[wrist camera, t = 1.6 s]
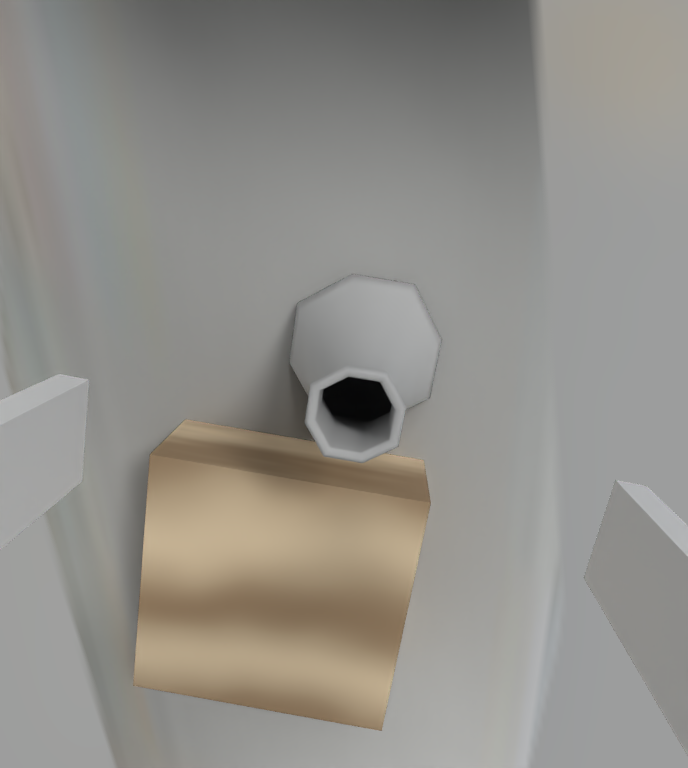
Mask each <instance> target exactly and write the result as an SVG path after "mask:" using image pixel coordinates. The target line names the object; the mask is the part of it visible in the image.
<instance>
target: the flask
mask: <svg viewBox="0 0 688 768" xmlns="http://www.w3.org/2000/svg"><path fill="white" fill-rule="evenodd" d="M441 342H442V339H441V337H440V335H439V333H438V331H437V329H436V327H435V325H434V323H433V321H432V319H431V317H430V315H429V313H428V310H427V308H426V306H425V304H424V302H423V300H422V298H421V296H420V294H419V292H418V290H417V288H416V286H415V284H410V283H404V282H398V281H392V280H386V279H380V278H374V277H368V276H362V275H356V274H351V275H349V276H347V277H345V278H343V279H342V280H340V281H338V282H336V283H334V284H332V285H330V286H328V287H326V288H325V289H323V290H321V291H319V292H317V293H315V294H313V295H311V296H309V297H308V298H306V299H304V300H302V301H300V302H298V303H297V309H296V317H295V324H294V331H293V338H292V346H291V353H290V360H289V363H290V365H291V366H292V368H293V370H294V372H295V374H296V375H297V377H298V379H299V381H300V383H301V384H302V386H303V388H304V390H305V392H306V393H307V395H308V404H307V410H306V417H305V424H306V426H307V428H308V430H309V432H310V433H311V435H312V437H313V439H314V440H315V442H316V444H317V446H318V447H319V449H320V451H321V453H322V455H323V456H324V457H329V458H335V459H341V460H347V461H352V462H358V463H364V462H366V461H369V460H371V459H373V458H375V457H377V456H379V455H382V454H384V453H386V452H388V451H390V450H392V449H395V448H397V447H398V446H399V441H400V436H401V431H402V425H403V420H404V415H405V410H406V409H408V408H410V407H412V406H414V405H416V404H419V403H421V402H423V401H425V400H427V399H429V398H430V395H431V390H432V385H433V380H434V375H435V371H436V366H437V361H438V356H439V351H440V347H441Z"/></svg>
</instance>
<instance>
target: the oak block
mask: <svg viewBox="0 0 688 768" xmlns="http://www.w3.org/2000/svg"><path fill="white" fill-rule="evenodd" d="M430 504H431V502H430V496H429V490H428V484H427V477H426V471H425V465H424V460H421V459H415V458H409V457H403V456H397V455H391V454H385V453H384V454H382V455H379V456H377V457H375V458H373V459H371V460H369V461H366V462H364V463H358V462H352V461H347V460H341V459H335V458H329V457H324V456H323V455H322V453H321V451H320V449H319V447H318V446H317V444H316V442H315V441H309V440H303V439H298V438H292V437H286V436H280V435H274V434H268V433H262V432H257V431H251V430H245V429H239V428H233V427H227V426H221V425H216V424H210V423H204V422H198V421H192V420H186V419H185V420H184V421H183V422H182V423H181V424H180V425H179V426H178V427H177V428H176V429H175V430H174V431H173V432H172V433H171V434H170V435H169V436H168V437H167V438H166V439H165V440H164V441H163V442H162V443H161V444H160V445H159V446H158V447H157V448H156V449H155V450H154V451H153V452H152V453H151V454H150V460H149V474H148V487H147V501H146V515H145V529H144V543H143V557H142V571H141V584H140V598H139V612H138V626H137V640H136V654H135V667H134V681H133V686H138V687H144V688H149V689H155V690H160V691H166V692H171V693H177V694H182V695H188V696H193V697H199V698H204V699H210V700H215V701H221V702H226V703H232V704H237V705H243V706H248V707H253V708H259V709H264V710H270V711H275V712H281V713H286V714H292V715H297V716H303V717H308V718H314V719H319V720H325V721H330V722H336V723H341V724H347V725H352V726H358V727H363V728H369V729H374V730H380V731H382V726H383V722H384V717H385V712H386V708H387V703H388V698H389V694H390V689H391V685H392V680H393V675H394V671H395V666H396V661H397V657H398V652H399V647H400V643H401V638H402V634H403V629H404V624H405V620H406V615H407V610H408V606H409V601H410V596H411V592H412V587H413V583H414V578H415V573H416V569H417V564H418V559H419V555H420V550H421V545H422V541H423V536H424V532H425V527H426V522H427V518H428V513H429V508H430Z"/></svg>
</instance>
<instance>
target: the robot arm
mask: <svg viewBox="0 0 688 768" xmlns="http://www.w3.org/2000/svg"><path fill="white" fill-rule="evenodd" d="M88 392H89V379H83V378H78V377H73V376H68V375H62V374H58V375H55V376H53V377H51V378H49V379H46V380H44V381H42V382H40V383H37V384H35V385H33V386H31V387H28V388H26V389H24V390H22V391H20V392H17V393H15V394H13V395H11V396H8V397H6V398H4V399H2V400H0V550H1V549H2V548H3V547H4V546H6V545H7V544H8V543H9V542H10V541H11V540H13V539H14V538H15V537H16V536H17V535H19V534H20V533H21V532H22V531H23V530H25V529H26V528H27V527H28V526H29V525H31V524H32V523H33V522H34V521H35V520H37V519H38V518H39V517H40V516H41V515H43V514H44V513H45V512H46V511H47V510H49V509H50V508H51V507H52V506H53V505H55V504H56V503H57V502H58V501H59V500H60V499H62V498H63V497H64V496H65V495H66V494H68V493H69V492H70V491H71V490H72V489H74V488H75V487H76V486H77V485H78V484H79V483H81V482H82V477H83V463H84V449H85V434H86V420H87V406H88ZM584 579H585V581H586V583H587V584H588V586H589V588H590V590H591V591H592V593H593V595H594V596H595V598H596V600H597V601H598V603H599V605H600V606H601V608H602V610H603V612H604V614H605V615H606V617H607V619H608V620H609V622H610V624H611V626H612V627H613V629H614V631H615V632H616V634H617V636H618V637H619V639H620V641H621V643H622V644H623V646H624V648H625V649H626V651H627V653H628V655H629V656H630V658H631V660H632V661H633V663H634V665H635V667H636V668H637V670H638V672H639V673H640V675H641V677H642V678H643V680H644V682H645V684H646V685H647V687H648V689H649V691H650V692H651V694H652V696H653V697H654V699H655V701H656V703H657V704H658V706H659V708H660V709H661V711H662V713H663V714H664V716H665V718H666V720H667V721H668V723H669V725H670V727H671V728H672V730H673V732H674V733H675V735H676V737H677V738H678V740H679V742H680V744H681V745H682V747H683V749H684V750H685V752H686V754H687V755H688V526H687V524H685V522H684V521H683V520H681V519H680V518H679V517H678V516H677V515H676V514H675V513H674V512H673V511H672V510H671V509H670V508H669V507H668V506H667V505H666V504H665V503H664V502H663V501H662V500H661V499H660V498H659V497H658V496H657V495H655V494H654V493H653V492H652V491H651V490H650V489H649V488H648V487H647V486H645V485H639V484H634V483H629V482H623V481H618V480H615V483H614V486H613V489H612V492H611V495H610V498H609V501H608V504H607V507H606V511H605V514H604V517H603V520H602V523H601V526H600V529H599V532H598V536H597V538H596V542H595V544H594V548H593V551H592V554H591V557H590V560H589V563H588V566H587V569H586V572H585V575H584Z"/></svg>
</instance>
